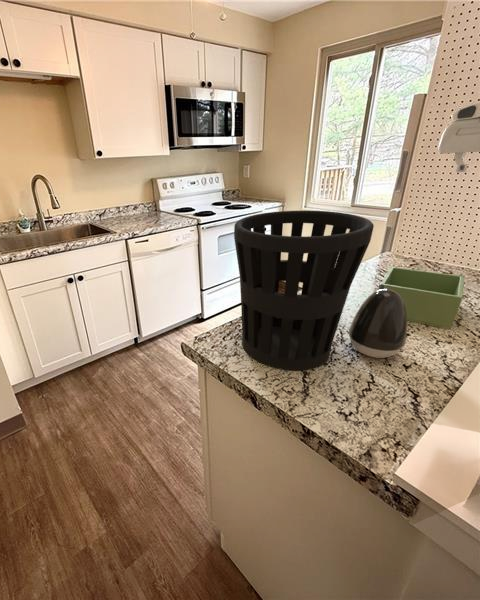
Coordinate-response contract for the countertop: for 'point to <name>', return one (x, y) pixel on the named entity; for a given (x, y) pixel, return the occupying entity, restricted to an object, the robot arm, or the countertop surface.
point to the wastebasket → (296, 283)
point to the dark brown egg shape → (380, 324)
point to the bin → (427, 294)
